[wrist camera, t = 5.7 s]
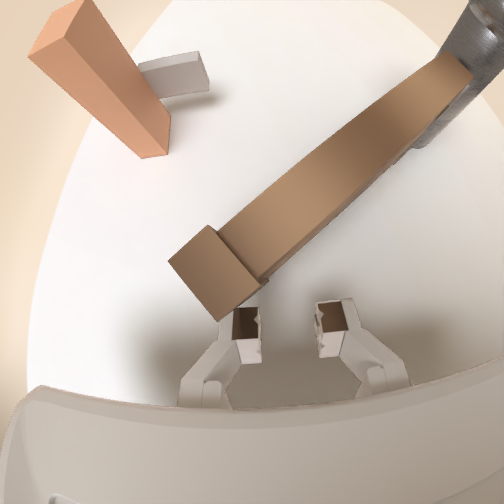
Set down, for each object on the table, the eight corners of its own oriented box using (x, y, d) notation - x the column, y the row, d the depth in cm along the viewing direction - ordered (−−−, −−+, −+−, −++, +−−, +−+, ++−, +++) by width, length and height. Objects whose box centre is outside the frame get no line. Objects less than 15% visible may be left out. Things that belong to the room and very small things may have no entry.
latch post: (216, 101, 18) (164, -40, 6) (215, 148, 18) (145, 4, 6) (146, 113, 19) (59, 3, 7) (141, 158, 18) (27, 57, 6)
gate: (388, 129, 17) (450, 38, 7) (409, 151, 16) (485, 72, 7) (227, 270, 17) (167, 260, 7) (250, 297, 16) (217, 322, 7)
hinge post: (424, 113, 17) (518, -10, 3) (434, 151, 17) (556, 38, 3) (387, 108, 17) (469, -39, 3) (397, 148, 17) (511, 5, 3)
